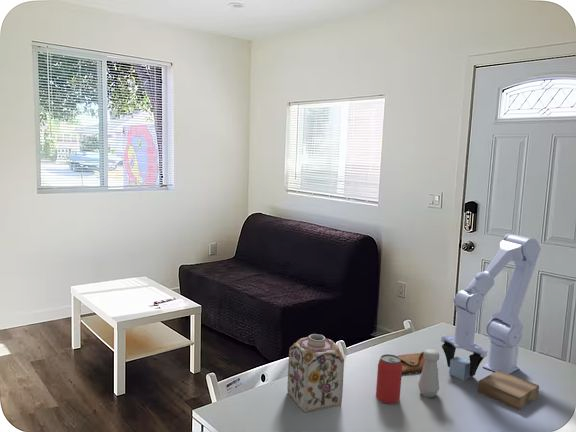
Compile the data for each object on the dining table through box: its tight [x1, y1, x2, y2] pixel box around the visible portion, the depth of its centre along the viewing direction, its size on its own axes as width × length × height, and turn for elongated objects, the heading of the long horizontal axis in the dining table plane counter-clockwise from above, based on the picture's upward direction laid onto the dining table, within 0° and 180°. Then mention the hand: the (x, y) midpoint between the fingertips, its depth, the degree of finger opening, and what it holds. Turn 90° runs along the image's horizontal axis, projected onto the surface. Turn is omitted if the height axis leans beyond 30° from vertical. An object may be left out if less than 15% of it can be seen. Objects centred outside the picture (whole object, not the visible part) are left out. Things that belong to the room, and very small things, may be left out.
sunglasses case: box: [397, 351, 426, 376], centre depth 156 cm, size 18×7×7 cm, turn 111°
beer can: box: [375, 353, 403, 405], centre depth 135 cm, size 7×7×12 cm
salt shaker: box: [418, 348, 440, 398], centre depth 138 cm, size 6×6×13 cm
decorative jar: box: [286, 333, 345, 413], centre depth 132 cm, size 12×12×18 cm
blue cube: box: [448, 355, 472, 381], centre depth 152 cm, size 5×5×5 cm
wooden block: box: [477, 370, 540, 411], centre depth 140 cm, size 12×12×4 cm
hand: (461, 370), depth 152 cm, fingers open, 7 cm apart
